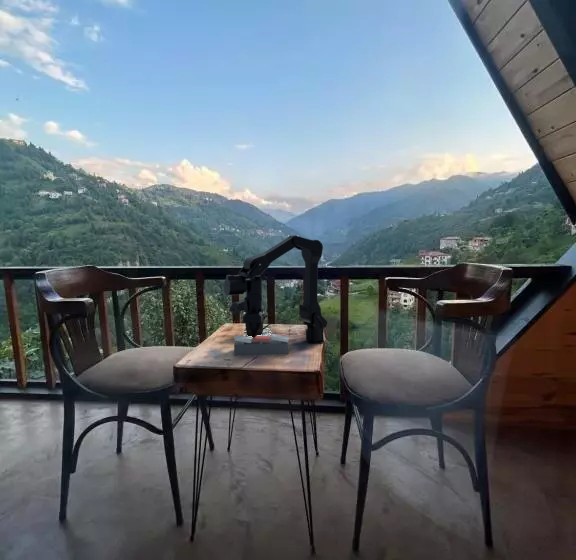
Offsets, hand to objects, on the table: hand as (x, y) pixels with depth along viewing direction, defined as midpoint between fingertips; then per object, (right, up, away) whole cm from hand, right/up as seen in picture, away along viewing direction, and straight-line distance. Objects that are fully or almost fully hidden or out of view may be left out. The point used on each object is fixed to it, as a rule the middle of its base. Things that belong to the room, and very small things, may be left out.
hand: (253, 336), depth 128 cm
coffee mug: (0, -4, +23) cm, 23 cm away
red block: (+3, -1, 0) cm, 3 cm away
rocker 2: (+9, -1, 0) cm, 9 cm away
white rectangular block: (-4, -1, 0) cm, 4 cm away
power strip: (+3, -6, +3) cm, 7 cm away
